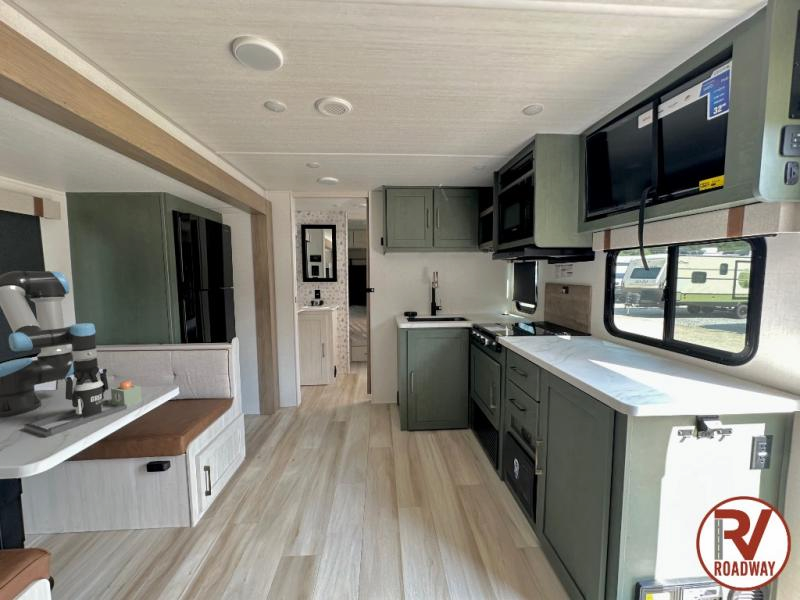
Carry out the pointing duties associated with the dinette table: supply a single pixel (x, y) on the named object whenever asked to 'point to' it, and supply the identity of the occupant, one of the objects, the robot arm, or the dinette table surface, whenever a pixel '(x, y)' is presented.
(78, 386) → the coffee cup
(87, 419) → the gray rectangular frame
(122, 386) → the egg
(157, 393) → the dinette table surface
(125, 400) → the cabinet
